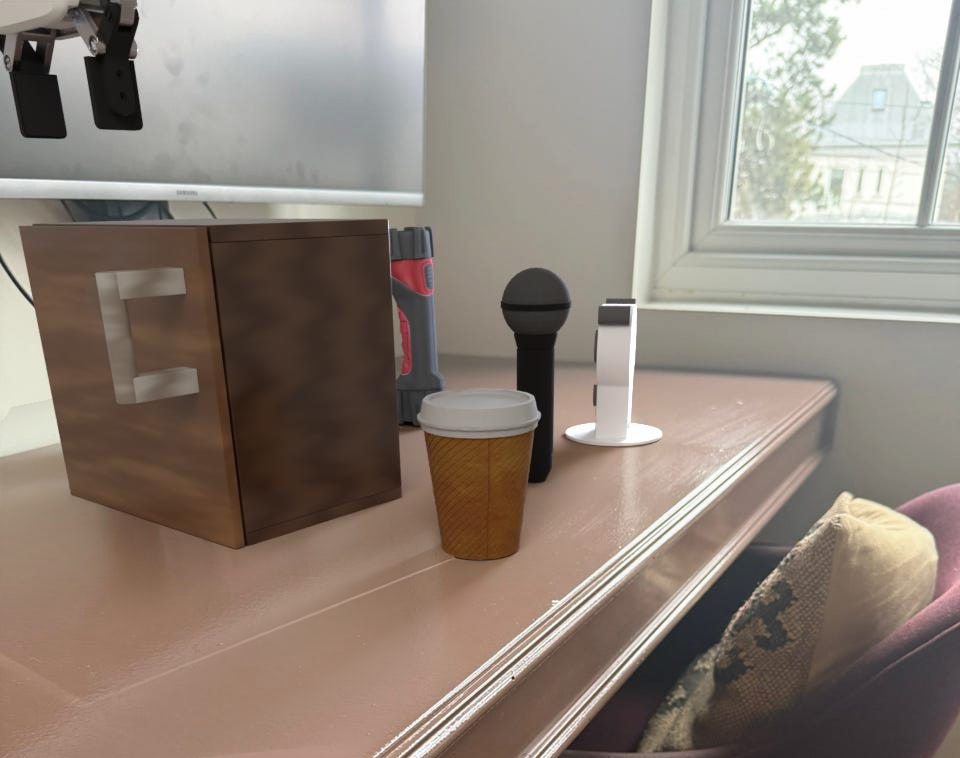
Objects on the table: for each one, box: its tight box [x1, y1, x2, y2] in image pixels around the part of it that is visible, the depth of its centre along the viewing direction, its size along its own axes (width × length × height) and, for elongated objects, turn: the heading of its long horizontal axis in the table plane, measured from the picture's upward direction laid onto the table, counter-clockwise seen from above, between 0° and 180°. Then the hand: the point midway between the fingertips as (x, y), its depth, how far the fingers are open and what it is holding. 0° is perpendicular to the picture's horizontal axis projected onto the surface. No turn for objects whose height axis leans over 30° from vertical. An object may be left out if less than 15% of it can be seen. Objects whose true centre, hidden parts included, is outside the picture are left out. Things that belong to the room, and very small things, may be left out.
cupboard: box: [31, 218, 403, 547], centre depth 89 cm, size 18×26×24 cm
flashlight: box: [389, 226, 446, 427], centre depth 119 cm, size 8×8×23 cm
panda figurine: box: [565, 297, 663, 447], centre depth 112 cm, size 12×11×15 cm
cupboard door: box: [18, 225, 246, 550], centre depth 80 cm, size 7×26×24 cm, turn 49°
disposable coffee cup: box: [417, 387, 541, 561], centre depth 76 cm, size 10×10×12 cm
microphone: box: [500, 267, 572, 484], centre depth 93 cm, size 7×7×20 cm
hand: (80, 134), depth 66 cm, fingers open, 9 cm apart
